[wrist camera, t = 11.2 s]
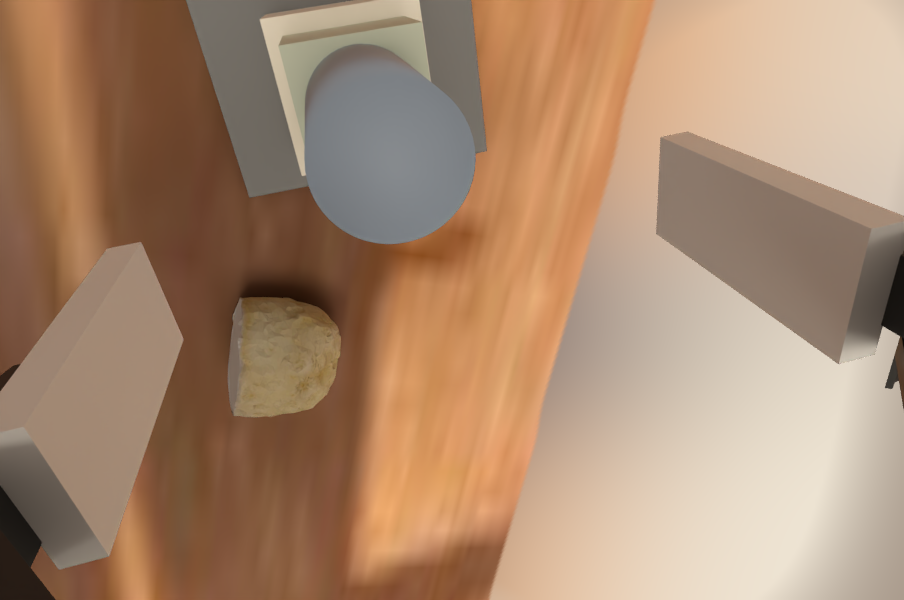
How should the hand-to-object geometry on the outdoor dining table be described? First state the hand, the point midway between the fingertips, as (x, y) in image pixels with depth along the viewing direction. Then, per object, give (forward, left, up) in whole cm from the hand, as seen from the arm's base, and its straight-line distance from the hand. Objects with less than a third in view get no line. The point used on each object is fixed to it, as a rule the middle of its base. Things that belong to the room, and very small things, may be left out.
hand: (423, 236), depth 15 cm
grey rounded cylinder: (0, 0, -18) cm, 18 cm away
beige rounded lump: (-10, -19, -31) cm, 38 cm away
